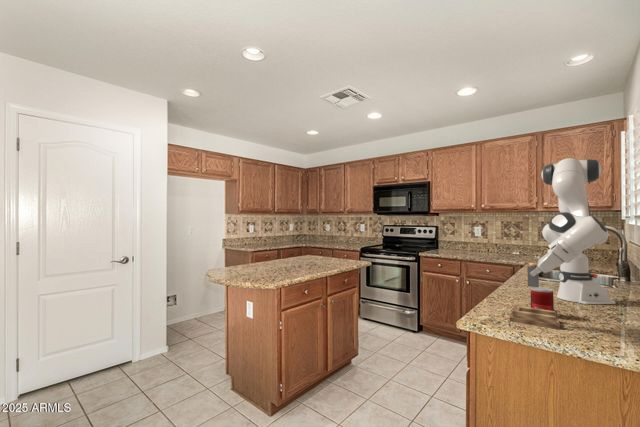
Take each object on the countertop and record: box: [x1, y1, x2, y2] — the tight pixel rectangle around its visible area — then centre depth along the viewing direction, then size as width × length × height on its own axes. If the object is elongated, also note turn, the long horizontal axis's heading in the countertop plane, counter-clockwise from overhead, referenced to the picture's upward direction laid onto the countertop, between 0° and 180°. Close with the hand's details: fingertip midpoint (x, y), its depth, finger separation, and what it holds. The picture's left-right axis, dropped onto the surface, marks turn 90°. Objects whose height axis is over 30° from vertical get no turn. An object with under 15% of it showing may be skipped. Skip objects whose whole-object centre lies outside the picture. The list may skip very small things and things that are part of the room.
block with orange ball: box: [527, 262, 540, 288], centre depth 122 cm, size 4×4×9 cm
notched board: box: [509, 305, 561, 330], centre depth 122 cm, size 16×11×4 cm
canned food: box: [530, 286, 555, 311], centre depth 131 cm, size 8×8×11 cm
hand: (531, 273), depth 123 cm, fingers closed on block with orange ball, 4 cm apart
